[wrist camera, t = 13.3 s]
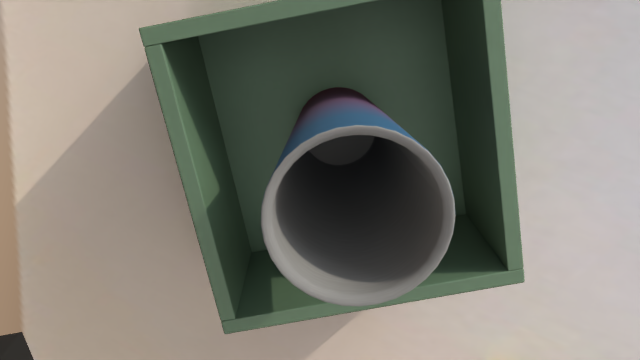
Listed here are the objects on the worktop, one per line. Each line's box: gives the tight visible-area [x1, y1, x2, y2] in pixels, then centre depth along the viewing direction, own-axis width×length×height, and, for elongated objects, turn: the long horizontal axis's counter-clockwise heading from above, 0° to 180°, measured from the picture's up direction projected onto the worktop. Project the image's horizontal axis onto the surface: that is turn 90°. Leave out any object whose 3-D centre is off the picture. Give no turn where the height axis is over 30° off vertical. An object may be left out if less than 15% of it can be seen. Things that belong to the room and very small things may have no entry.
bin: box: [139, 0, 524, 334], centre depth 30 cm, size 16×16×9 cm
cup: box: [261, 87, 455, 306], centre depth 26 cm, size 7×7×15 cm
